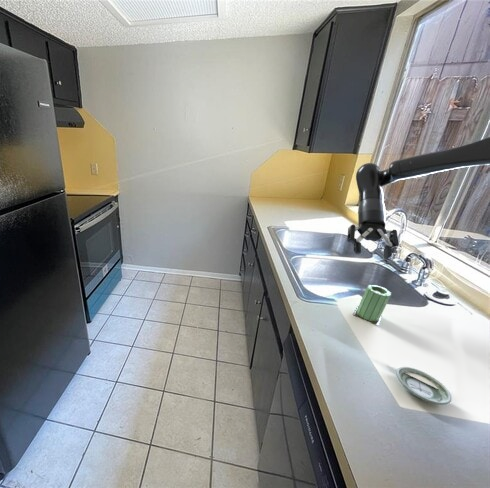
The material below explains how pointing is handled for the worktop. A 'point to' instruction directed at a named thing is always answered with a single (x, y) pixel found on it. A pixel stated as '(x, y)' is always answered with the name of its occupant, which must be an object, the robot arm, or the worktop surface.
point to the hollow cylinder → (373, 303)
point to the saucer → (423, 386)
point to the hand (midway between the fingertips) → (372, 255)
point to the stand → (368, 320)
